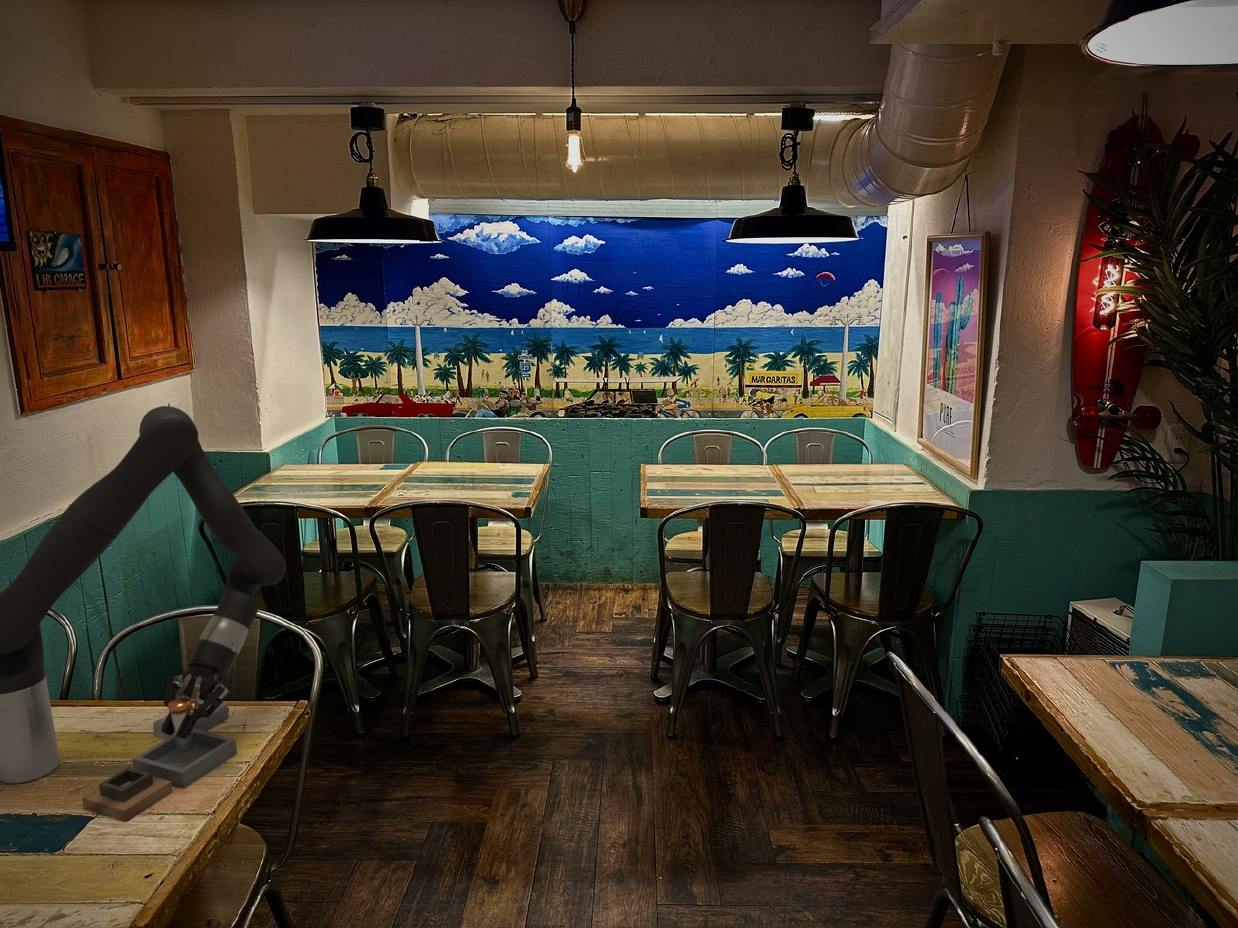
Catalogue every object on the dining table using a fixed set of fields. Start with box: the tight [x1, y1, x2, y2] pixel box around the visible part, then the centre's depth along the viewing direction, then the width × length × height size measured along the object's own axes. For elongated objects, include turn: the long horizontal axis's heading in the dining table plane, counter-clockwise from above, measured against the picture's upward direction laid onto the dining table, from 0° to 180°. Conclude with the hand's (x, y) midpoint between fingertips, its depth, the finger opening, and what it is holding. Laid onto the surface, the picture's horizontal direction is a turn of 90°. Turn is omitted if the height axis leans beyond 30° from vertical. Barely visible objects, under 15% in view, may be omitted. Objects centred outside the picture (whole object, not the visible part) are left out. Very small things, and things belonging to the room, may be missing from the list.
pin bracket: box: [81, 766, 173, 822], centre depth 149 cm, size 10×9×4 cm
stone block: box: [152, 702, 230, 740], centre depth 173 cm, size 12×5×10 cm
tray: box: [131, 728, 238, 789], centre depth 159 cm, size 12×12×3 cm
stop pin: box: [167, 698, 195, 753], centre depth 158 cm, size 4×4×9 cm
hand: (173, 735), depth 157 cm, fingers closed on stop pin, 3 cm apart
